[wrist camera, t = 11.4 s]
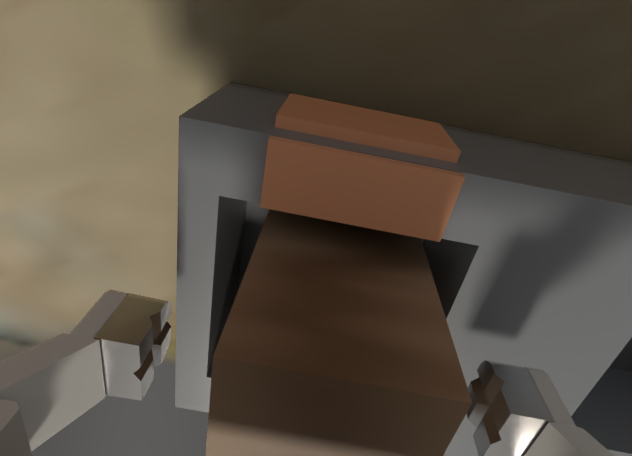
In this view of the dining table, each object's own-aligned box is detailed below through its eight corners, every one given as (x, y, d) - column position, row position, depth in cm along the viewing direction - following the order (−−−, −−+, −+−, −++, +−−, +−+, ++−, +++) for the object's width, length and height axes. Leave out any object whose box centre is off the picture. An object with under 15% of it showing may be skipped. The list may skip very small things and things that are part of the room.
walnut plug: (409, 203, 14) (472, 403, 7) (377, 303, 16) (400, 532, 9) (281, 178, 14) (212, 356, 7) (266, 282, 16) (202, 498, 9)
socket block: (833, 193, 13) (1055, 279, 9) (651, 398, 18) (740, 513, 14) (231, 72, 13) (175, 105, 9) (213, 317, 18) (172, 412, 14)
